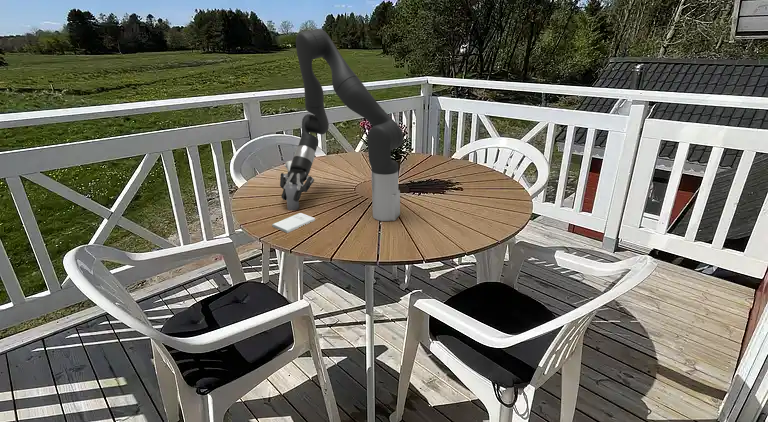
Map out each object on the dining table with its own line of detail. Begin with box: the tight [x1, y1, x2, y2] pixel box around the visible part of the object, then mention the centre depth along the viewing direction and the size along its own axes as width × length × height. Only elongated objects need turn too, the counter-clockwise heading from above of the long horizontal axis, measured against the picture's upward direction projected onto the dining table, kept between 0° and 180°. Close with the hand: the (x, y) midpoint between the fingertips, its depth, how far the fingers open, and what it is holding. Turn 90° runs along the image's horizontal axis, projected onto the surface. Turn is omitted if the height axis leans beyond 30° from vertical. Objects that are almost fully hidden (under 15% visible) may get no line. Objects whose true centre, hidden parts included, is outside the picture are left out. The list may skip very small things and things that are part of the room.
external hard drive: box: [271, 212, 316, 234], centre depth 138 cm, size 2×8×12 cm
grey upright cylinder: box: [285, 183, 300, 211], centre depth 148 cm, size 4×4×10 cm
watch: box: [284, 160, 297, 185], centre depth 171 cm, size 6×8×11 cm
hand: (289, 199), depth 147 cm, fingers closed on grey upright cylinder, 4 cm apart
